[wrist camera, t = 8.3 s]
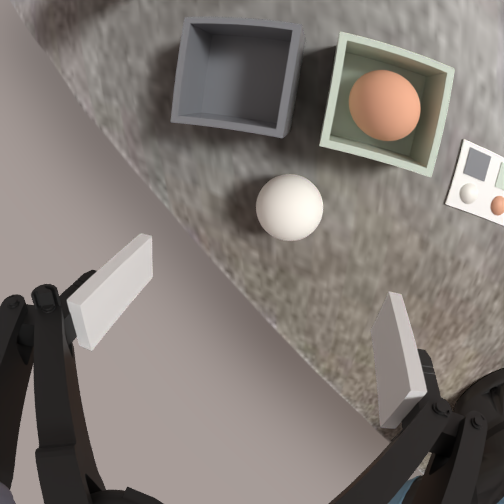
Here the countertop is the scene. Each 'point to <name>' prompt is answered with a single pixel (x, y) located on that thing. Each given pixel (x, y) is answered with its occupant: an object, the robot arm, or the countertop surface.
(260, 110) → the grey open cubby box
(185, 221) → the countertop surface
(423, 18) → the countertop surface
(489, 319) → the countertop surface
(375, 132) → the ball terracotta
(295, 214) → the ball white
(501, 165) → the card
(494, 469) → the robot arm
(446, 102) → the sage open box
